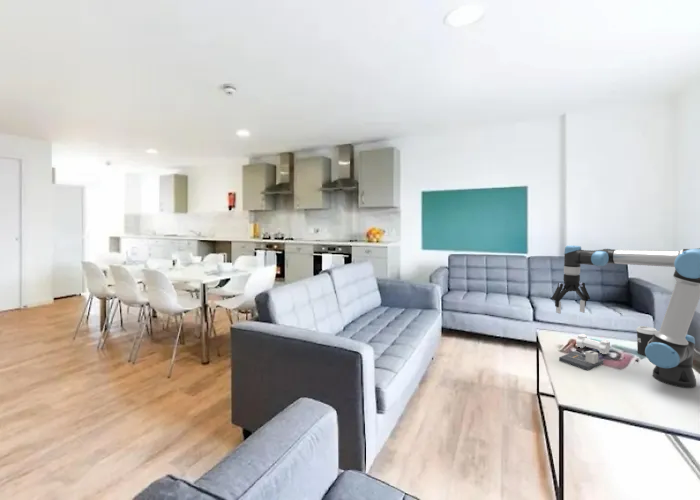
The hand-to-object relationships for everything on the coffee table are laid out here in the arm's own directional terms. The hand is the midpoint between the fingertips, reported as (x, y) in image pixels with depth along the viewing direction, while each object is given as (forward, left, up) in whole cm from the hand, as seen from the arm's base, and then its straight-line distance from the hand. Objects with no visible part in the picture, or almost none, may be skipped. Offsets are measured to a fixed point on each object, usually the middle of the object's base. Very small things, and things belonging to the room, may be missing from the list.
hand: (570, 312), depth 190 cm
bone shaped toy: (-3, -21, -25) cm, 33 cm away
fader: (-13, +2, -23) cm, 26 cm away
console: (-8, +2, -25) cm, 26 cm away
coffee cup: (-21, -40, -25) cm, 52 cm away
